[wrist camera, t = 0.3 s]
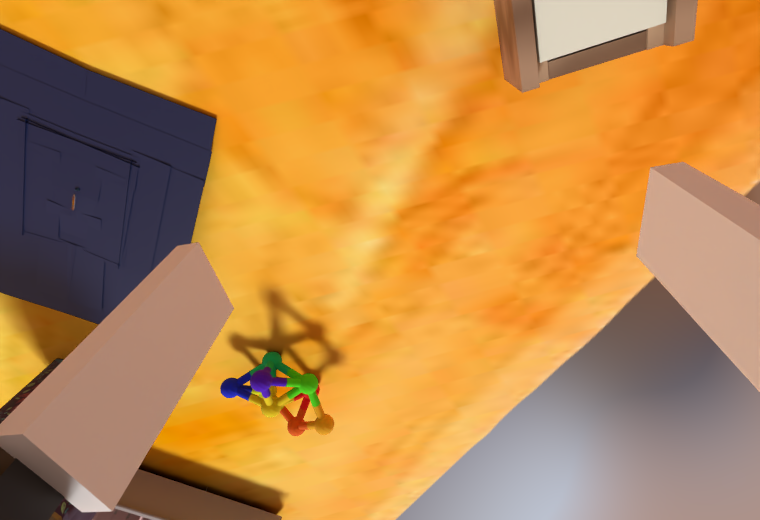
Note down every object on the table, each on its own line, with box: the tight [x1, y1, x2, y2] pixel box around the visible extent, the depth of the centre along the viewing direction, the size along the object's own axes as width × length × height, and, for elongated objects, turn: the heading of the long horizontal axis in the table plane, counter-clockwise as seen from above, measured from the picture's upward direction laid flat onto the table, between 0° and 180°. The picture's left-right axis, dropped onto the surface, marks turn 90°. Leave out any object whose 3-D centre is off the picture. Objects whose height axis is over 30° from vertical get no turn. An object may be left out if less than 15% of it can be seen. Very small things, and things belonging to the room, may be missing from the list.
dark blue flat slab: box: [0, 29, 216, 324], centre depth 42 cm, size 24×30×4 cm
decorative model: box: [220, 352, 334, 436], centre depth 53 cm, size 13×9×15 cm
